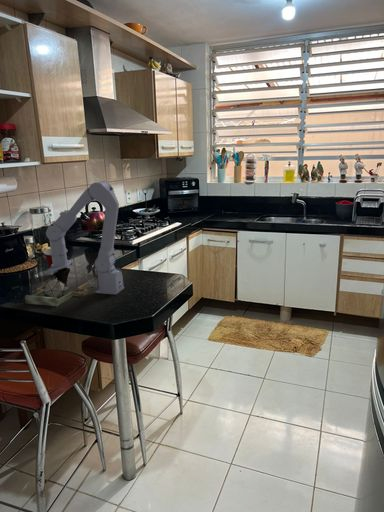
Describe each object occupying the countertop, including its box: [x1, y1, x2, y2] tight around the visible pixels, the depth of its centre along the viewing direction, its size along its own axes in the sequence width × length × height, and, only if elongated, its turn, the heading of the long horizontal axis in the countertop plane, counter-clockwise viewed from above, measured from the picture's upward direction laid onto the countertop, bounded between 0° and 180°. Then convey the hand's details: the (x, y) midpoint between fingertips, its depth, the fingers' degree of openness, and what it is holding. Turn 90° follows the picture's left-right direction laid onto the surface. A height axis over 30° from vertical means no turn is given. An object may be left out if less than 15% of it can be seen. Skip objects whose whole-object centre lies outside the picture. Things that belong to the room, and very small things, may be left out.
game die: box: [42, 276, 68, 298], centre depth 148 cm, size 9×8×10 cm
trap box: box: [24, 282, 90, 307], centre depth 152 cm, size 22×22×3 cm
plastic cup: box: [43, 247, 68, 277], centre depth 177 cm, size 11×11×12 cm
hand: (63, 286), depth 155 cm, fingers closed
